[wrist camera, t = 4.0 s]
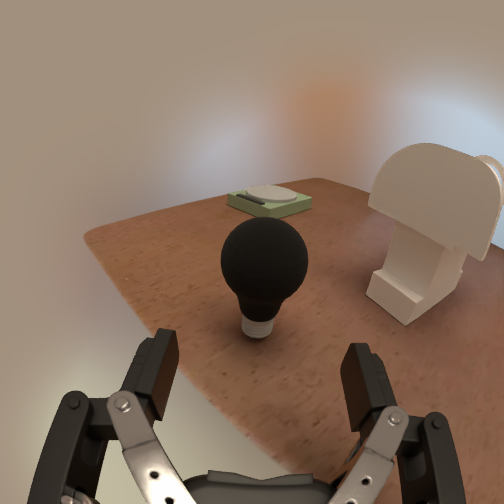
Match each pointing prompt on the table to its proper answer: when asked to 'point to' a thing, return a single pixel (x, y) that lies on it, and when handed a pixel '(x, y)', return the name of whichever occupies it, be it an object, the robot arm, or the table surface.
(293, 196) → the scale
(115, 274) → the table surface
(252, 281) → the light bulb
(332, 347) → the table surface
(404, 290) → the tape dispenser
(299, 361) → the table surface
